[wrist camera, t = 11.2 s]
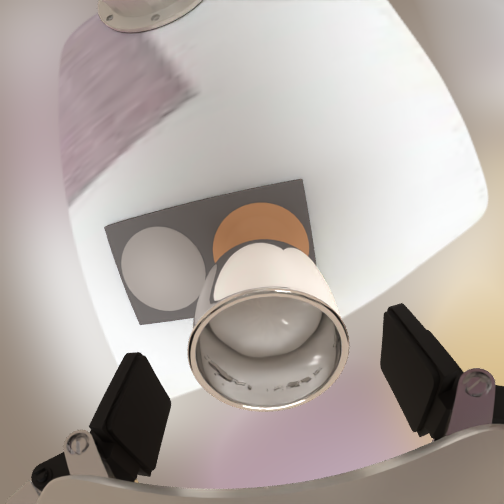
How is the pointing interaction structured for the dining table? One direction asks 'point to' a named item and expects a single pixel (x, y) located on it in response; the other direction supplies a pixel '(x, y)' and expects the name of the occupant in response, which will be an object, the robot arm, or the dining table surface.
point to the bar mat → (195, 245)
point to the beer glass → (266, 323)
